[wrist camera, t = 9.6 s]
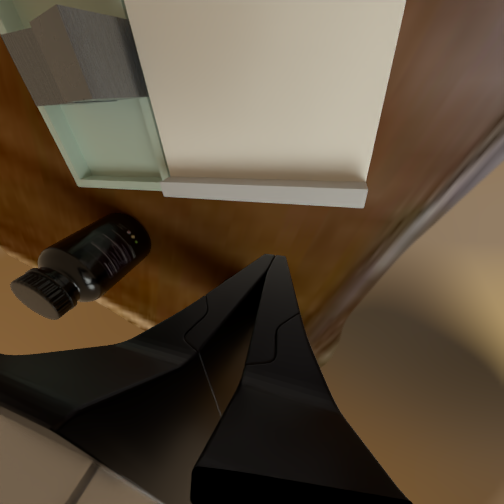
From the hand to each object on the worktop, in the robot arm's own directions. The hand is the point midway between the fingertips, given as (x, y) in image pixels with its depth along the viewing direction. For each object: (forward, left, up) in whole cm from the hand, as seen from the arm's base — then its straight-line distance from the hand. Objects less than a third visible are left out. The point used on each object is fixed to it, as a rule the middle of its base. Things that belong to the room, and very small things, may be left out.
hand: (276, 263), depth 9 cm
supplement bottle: (-8, +22, -12) cm, 26 cm away
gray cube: (+8, +16, -10) cm, 21 cm away
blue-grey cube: (+8, +14, -10) cm, 19 cm away
